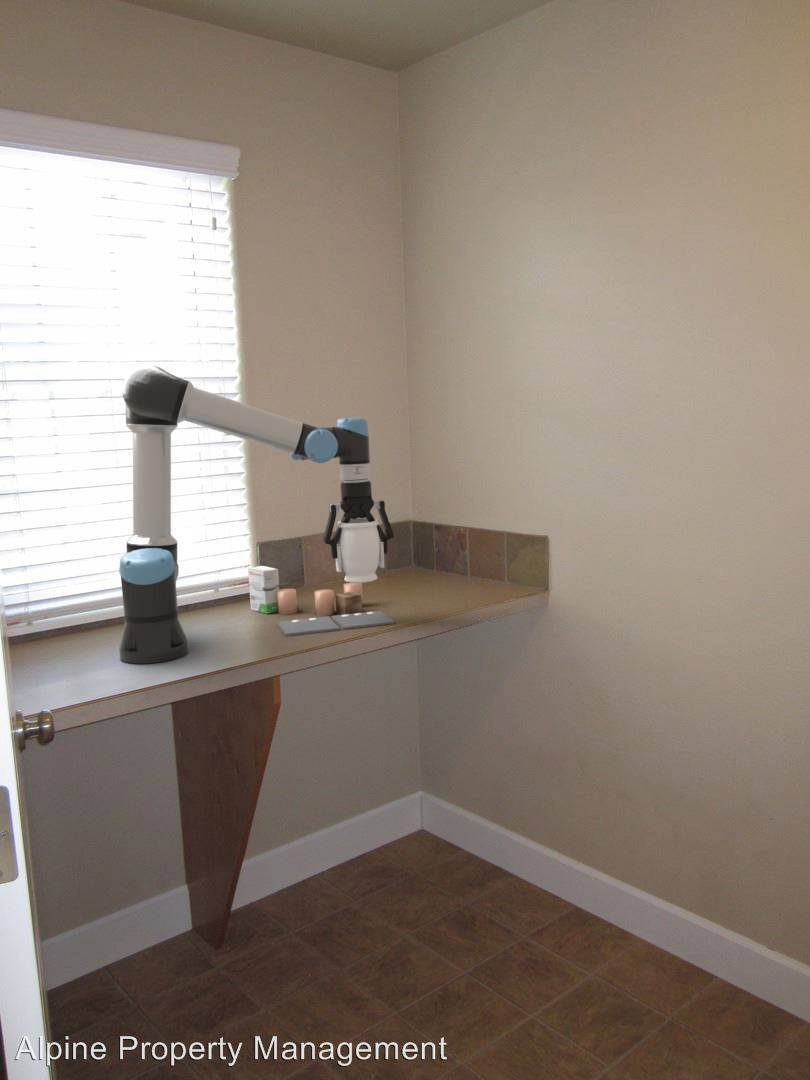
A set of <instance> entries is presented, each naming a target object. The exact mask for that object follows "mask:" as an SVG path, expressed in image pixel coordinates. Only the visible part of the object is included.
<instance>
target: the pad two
mask: <svg viewBox="0 0 810 1080" xmlns="http://www.w3.org/2000/svg"><path fill="white" fill-rule="evenodd" d="M277 625H278V627H279V628H280V629H281V631H282V632H283V633H284V635H285V637H291V636H298V635H299V636H300V635H307V634H318V633H325V632H335V630H336V631H340V626H338V624H337V623H336V622H335V621H333V619H332V618H331V617H330V616H318V617H311V618H300V619H291V620H283V621H277Z"/></svg>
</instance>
